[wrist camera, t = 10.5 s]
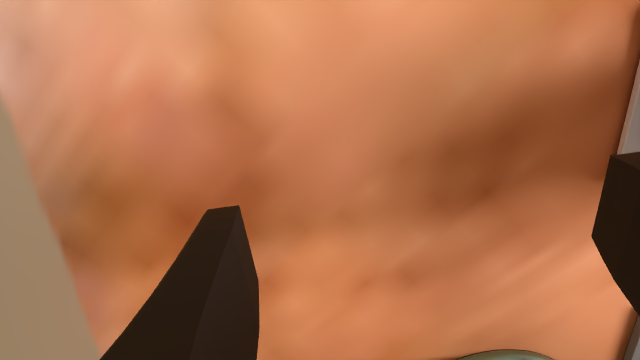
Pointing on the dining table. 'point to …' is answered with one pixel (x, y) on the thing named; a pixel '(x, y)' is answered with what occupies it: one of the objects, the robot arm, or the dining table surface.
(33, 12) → the dining table surface
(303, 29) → the dining table surface
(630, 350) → the mat
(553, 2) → the dining table surface
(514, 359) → the bowl
